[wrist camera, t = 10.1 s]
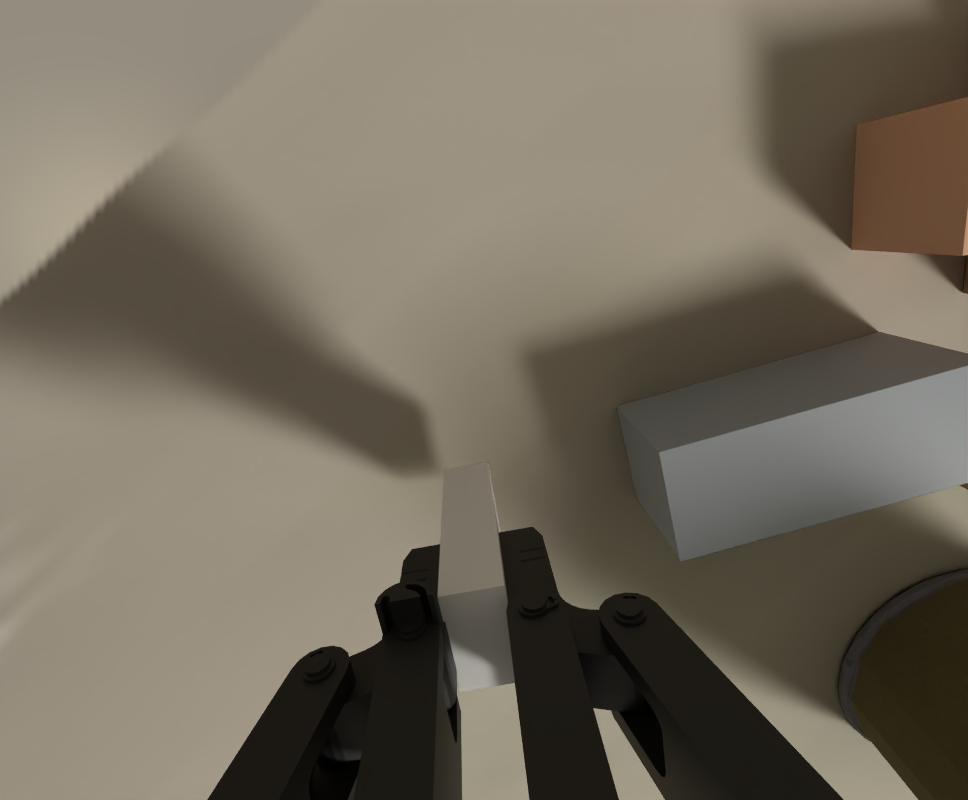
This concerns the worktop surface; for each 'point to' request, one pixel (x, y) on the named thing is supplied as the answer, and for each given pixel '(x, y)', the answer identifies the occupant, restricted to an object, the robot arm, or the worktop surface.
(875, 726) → the canister
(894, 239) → the terracotta bar
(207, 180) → the worktop surface
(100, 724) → the worktop surface
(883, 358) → the slate bar
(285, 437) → the worktop surface
